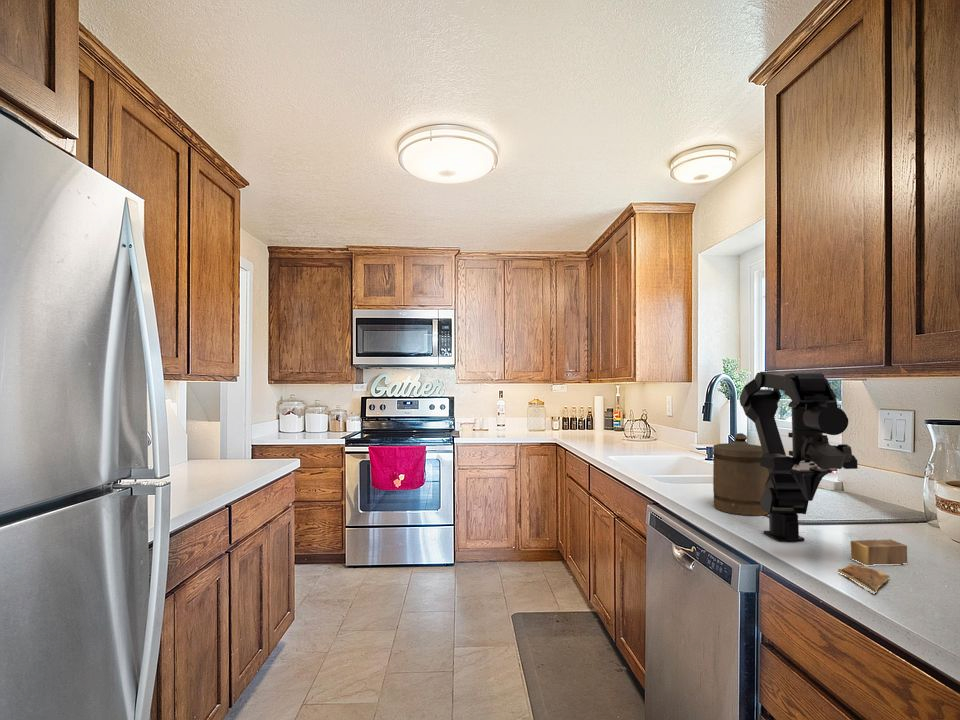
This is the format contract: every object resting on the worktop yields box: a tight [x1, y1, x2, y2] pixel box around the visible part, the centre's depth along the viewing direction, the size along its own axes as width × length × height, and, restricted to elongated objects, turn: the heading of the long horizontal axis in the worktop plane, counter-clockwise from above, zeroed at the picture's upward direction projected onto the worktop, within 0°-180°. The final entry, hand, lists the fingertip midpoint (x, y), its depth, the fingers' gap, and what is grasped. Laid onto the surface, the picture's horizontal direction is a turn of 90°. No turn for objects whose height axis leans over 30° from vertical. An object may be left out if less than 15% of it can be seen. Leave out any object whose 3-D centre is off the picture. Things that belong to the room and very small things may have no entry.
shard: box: [837, 563, 890, 592], centre depth 100 cm, size 11×8×2 cm
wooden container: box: [712, 432, 769, 517], centre depth 151 cm, size 15×15×22 cm
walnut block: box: [850, 538, 908, 565], centre depth 109 cm, size 4×4×9 cm
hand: (808, 500), depth 113 cm, fingers closed
